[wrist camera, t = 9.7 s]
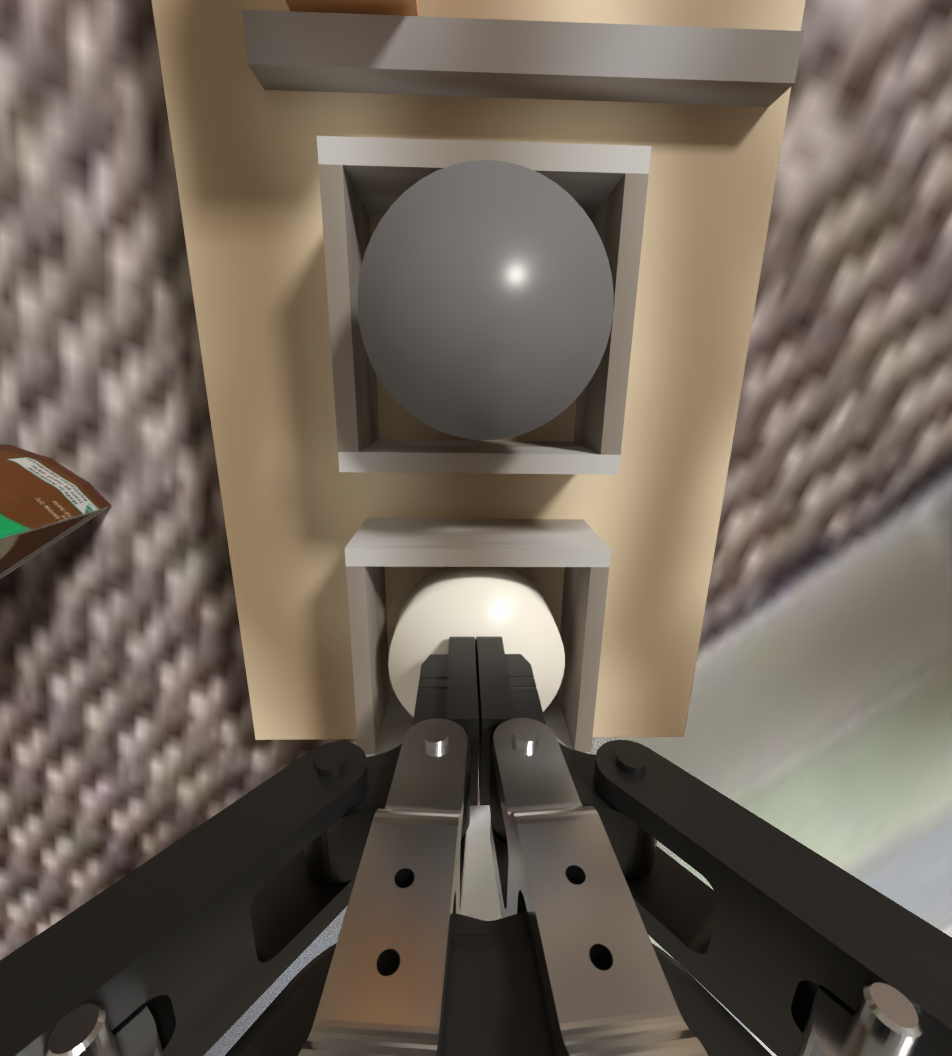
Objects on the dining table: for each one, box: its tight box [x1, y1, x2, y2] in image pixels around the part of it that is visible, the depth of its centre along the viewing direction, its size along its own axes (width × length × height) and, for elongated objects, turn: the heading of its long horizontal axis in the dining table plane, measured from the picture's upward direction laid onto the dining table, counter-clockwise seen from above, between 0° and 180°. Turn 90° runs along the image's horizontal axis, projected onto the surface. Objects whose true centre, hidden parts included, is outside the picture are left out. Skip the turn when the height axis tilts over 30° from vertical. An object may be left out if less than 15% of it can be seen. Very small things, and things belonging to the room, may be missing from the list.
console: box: [152, 0, 805, 757], centre depth 14 cm, size 16×28×7 cm, turn 179°
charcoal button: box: [358, 160, 614, 440], centre depth 10 cm, size 5×5×2 cm
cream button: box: [388, 567, 565, 717], centre depth 14 cm, size 5×5×2 cm
